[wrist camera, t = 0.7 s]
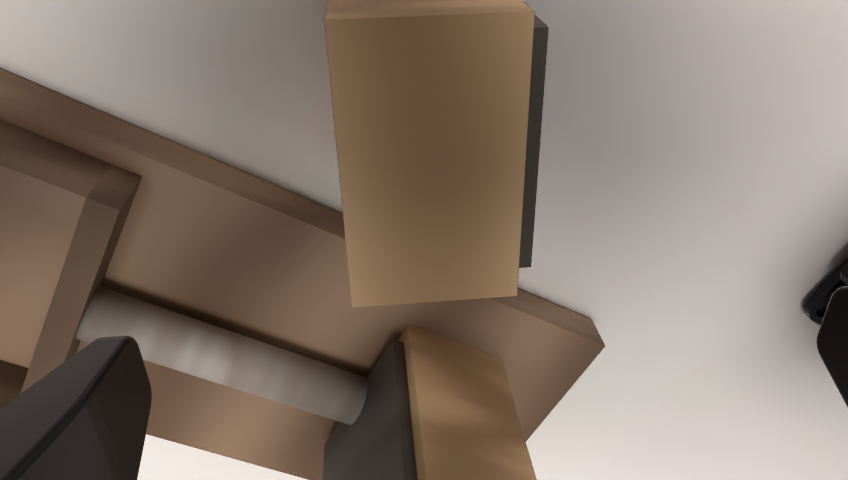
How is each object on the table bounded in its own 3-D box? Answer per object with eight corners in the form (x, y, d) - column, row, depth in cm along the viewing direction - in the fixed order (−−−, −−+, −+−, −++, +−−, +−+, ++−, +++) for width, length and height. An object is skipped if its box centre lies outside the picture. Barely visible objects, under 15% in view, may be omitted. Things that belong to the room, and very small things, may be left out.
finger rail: (591, 319, 24) (696, 524, 17) (454, 491, 28) (490, 716, 21) (-175, -6, 16) (-600, 108, 9) (-210, 293, 20) (-523, 538, 13)
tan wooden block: (487, -44, 17) (557, 10, 11) (481, 164, 20) (535, 294, 14) (335, -39, 17) (324, 19, 11) (352, 172, 20) (352, 307, 14)
